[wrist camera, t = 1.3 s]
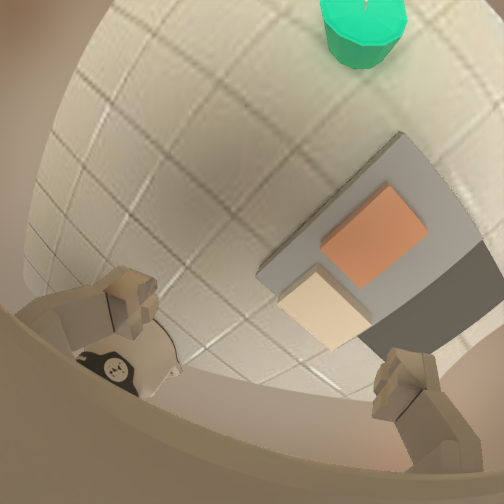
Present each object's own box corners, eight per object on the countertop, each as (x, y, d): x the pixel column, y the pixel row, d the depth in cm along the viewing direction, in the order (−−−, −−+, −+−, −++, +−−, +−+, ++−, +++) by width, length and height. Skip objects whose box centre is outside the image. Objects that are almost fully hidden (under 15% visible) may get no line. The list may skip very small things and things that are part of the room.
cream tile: (371, 314, 32) (371, 325, 30) (332, 339, 35) (331, 351, 33) (317, 262, 31) (315, 272, 29) (280, 294, 34) (276, 304, 32)
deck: (338, 335, 37) (337, 348, 35) (260, 266, 36) (254, 276, 34) (475, 229, 26) (483, 238, 24) (399, 131, 25) (404, 132, 23)
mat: (397, 371, 37) (397, 373, 37) (352, 330, 36) (352, 332, 36) (509, 291, 27) (510, 293, 27) (477, 232, 26) (478, 234, 26)
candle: (364, 81, 24) (380, 60, 14) (314, 45, 24) (298, 5, 13) (398, 42, 21) (429, 4, 11) (348, 6, 20) (350, -49, 10)
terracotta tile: (359, 279, 30) (360, 289, 29) (321, 240, 30) (319, 249, 28) (424, 225, 26) (429, 232, 24) (386, 180, 25) (389, 185, 24)
